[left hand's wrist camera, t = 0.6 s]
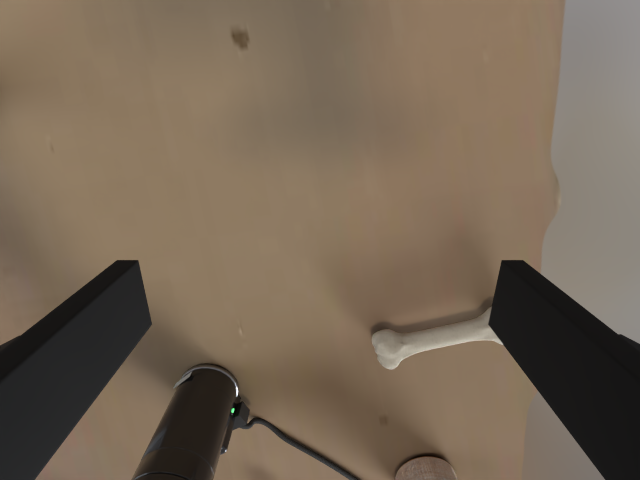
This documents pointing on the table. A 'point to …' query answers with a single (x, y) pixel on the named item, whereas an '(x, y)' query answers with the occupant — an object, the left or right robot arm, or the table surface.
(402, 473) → the planter
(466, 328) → the dog toy
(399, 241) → the table surface
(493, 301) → the left robot arm
